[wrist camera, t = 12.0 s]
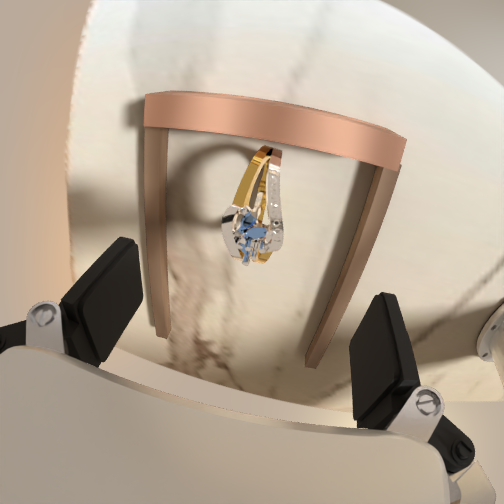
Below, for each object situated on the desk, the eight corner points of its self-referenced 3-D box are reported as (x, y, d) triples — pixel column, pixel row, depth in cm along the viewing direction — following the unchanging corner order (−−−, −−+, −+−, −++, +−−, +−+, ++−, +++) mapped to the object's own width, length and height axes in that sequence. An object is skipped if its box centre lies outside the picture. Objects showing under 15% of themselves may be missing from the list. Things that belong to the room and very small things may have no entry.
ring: (273, 230, 23) (262, 300, 16) (233, 218, 22) (206, 283, 16) (302, 145, 19) (307, 183, 12) (257, 131, 19) (234, 161, 12)
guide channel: (401, 133, 17) (424, 145, 14) (315, 357, 30) (315, 387, 27) (156, 90, 18) (128, 94, 14) (161, 326, 31) (148, 353, 28)
